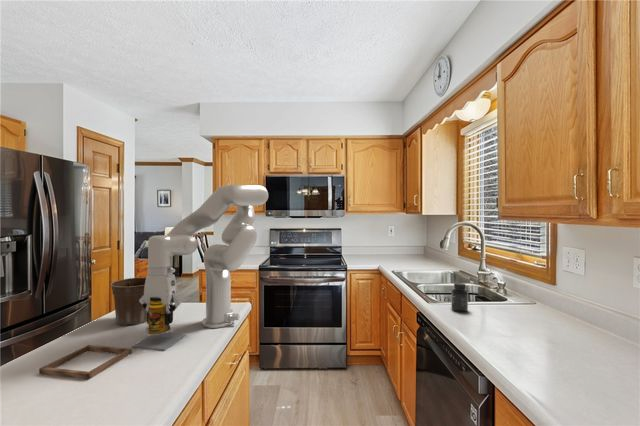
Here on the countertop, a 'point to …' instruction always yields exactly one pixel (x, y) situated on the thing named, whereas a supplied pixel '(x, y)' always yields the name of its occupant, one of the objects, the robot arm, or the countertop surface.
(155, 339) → the mat
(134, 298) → the plant pot
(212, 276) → the robot arm
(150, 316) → the condiment
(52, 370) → the wooden square frame
